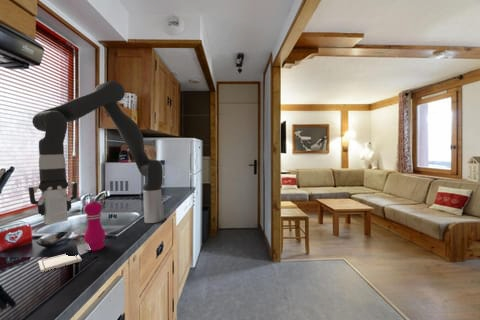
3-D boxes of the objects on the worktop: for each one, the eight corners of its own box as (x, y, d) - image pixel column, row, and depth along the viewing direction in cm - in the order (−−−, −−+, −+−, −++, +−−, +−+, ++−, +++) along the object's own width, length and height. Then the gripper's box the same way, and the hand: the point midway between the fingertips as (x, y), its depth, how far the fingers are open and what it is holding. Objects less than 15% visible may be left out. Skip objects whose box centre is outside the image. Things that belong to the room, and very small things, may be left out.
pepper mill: (80, 249, 94) (77, 199, 93) (98, 243, 100) (96, 195, 99) (91, 253, 90) (88, 200, 89) (109, 246, 97) (107, 197, 96)
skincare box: (62, 219, 90) (60, 187, 90) (68, 220, 88) (66, 188, 88) (43, 223, 85) (41, 190, 85) (48, 225, 83) (46, 191, 82)
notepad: (75, 252, 91) (75, 250, 91) (81, 260, 84) (81, 258, 84) (38, 262, 83) (38, 260, 83) (41, 272, 76) (41, 270, 76)
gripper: (74, 165, 94) (76, 207, 94) (25, 168, 84) (28, 215, 84) (78, 166, 88) (81, 210, 89) (26, 169, 78) (29, 219, 79)
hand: (55, 212), depth 87 cm, fingers closed on skincare box, 6 cm apart
